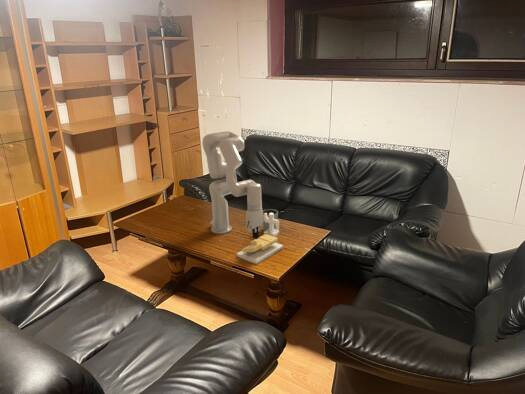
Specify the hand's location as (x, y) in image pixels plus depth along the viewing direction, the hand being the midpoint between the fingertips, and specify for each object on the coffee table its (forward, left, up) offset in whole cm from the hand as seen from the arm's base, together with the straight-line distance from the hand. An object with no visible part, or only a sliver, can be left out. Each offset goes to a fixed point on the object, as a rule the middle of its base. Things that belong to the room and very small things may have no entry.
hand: (255, 238), depth 213 cm
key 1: (+3, +7, -3) cm, 8 cm away
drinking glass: (-11, +26, -8) cm, 29 cm away
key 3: (+3, -7, -3) cm, 8 cm away
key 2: (+3, 0, -3) cm, 4 cm away
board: (+3, 0, -8) cm, 8 cm away
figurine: (-4, +19, -8) cm, 20 cm away
